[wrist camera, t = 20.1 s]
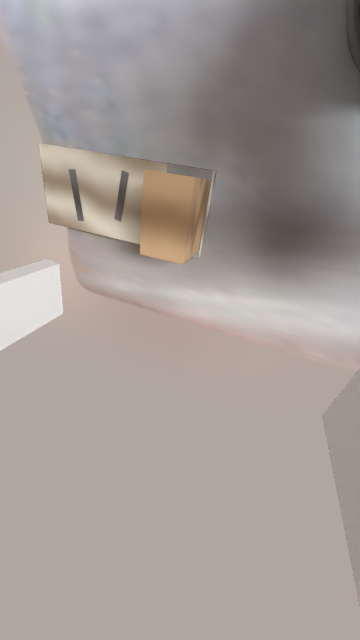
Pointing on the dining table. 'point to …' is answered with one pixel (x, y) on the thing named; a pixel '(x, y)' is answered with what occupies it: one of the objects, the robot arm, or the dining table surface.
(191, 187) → the brown cardboard box
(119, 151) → the dining table surface
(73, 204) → the board
